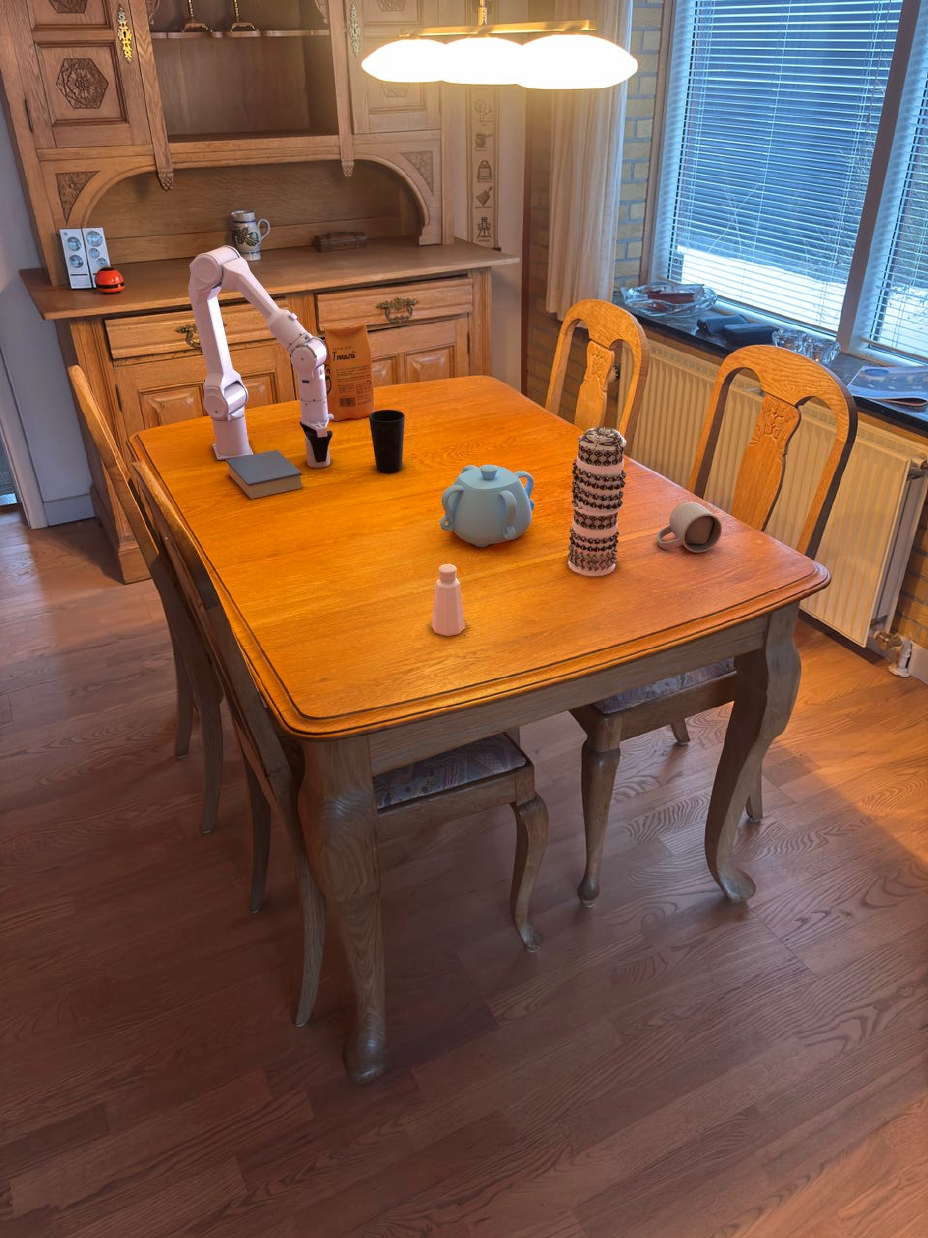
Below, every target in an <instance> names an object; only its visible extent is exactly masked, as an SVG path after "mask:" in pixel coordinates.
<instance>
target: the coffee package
mask: <svg viewBox="0 0 928 1238" xmlns="http://www.w3.org/2000/svg"><path fill="white" fill-rule="evenodd" d="M323 330H324V331H323V332H324V338H325V339H323V343H324V344H325V346H326V348H327V358H326V360H325V361H324V362H323V363H322V364H324V374H325V385H326V398H327V410H328V414H332V415H333V416H334V419H333V420H332V421H334V422H339V421H343V420H347V419H353V420H358V419H363V418H366V417H369V415H370V414H371V413H373V412H376V410H375V389H374V376H373V374H374V373H373V358H372V350H371V347H370V342H369V339H368V337H369V335H368V334H369V333H368V328H367V325H366V323H365V322H360V323H357V324H355V325H352V326H348V327H332V326H330V327H327V326H324V327H323ZM322 364H321V365H322Z"/></svg>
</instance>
